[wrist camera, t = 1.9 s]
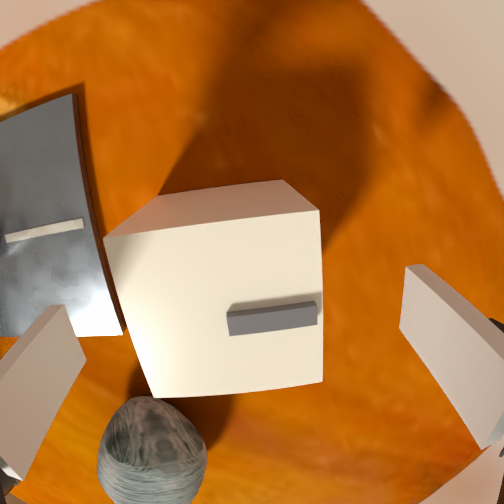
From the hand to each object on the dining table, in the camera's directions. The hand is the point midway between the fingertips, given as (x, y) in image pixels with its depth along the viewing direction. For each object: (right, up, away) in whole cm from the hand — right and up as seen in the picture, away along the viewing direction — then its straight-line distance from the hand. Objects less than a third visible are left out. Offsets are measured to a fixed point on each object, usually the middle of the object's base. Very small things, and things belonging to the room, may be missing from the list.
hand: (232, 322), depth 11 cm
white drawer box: (-1, +3, +8) cm, 9 cm away
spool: (-8, -14, +14) cm, 21 cm away
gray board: (-19, +3, +7) cm, 21 cm away
